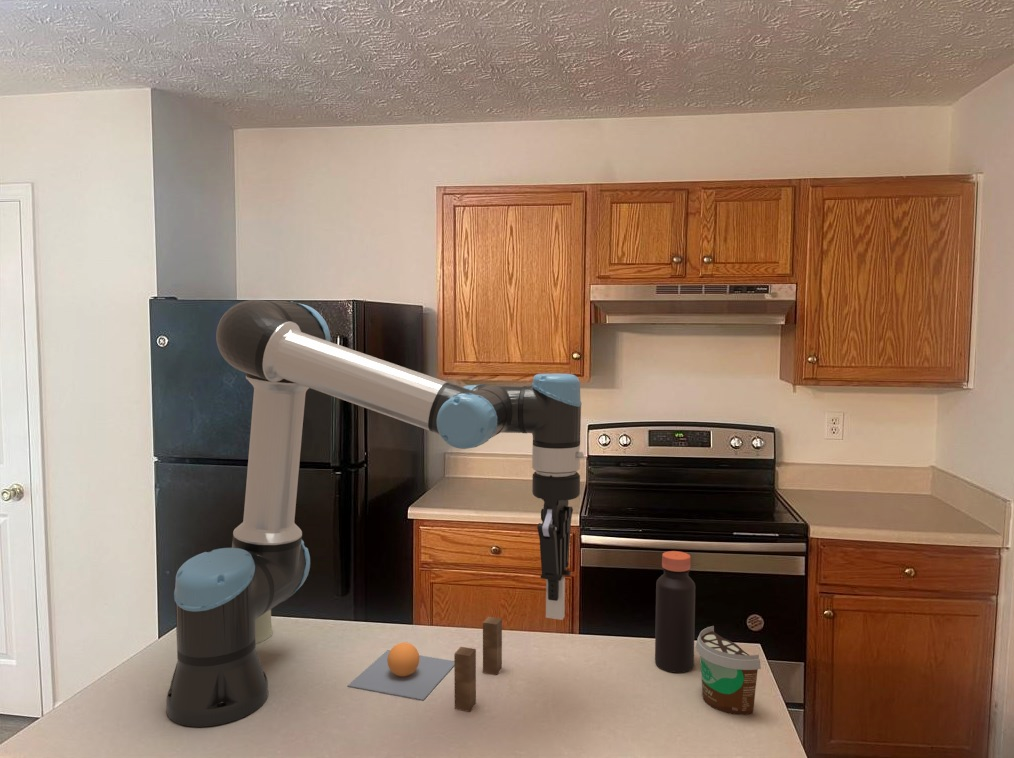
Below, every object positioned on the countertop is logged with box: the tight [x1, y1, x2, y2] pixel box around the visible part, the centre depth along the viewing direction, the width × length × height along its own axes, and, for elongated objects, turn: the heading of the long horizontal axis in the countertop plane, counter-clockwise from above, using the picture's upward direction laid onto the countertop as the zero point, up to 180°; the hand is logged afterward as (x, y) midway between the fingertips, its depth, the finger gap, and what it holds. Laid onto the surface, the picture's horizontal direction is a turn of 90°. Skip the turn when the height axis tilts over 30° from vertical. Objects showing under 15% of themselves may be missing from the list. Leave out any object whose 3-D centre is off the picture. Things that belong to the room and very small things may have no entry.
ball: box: [387, 642, 420, 677], centre depth 124 cm, size 6×6×6 cm
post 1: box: [453, 646, 477, 713], centre depth 114 cm, size 3×3×9 cm
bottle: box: [654, 550, 696, 674], centre depth 128 cm, size 7×7×20 cm
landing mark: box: [347, 649, 454, 702], centre depth 125 cm, size 14×14×1 cm
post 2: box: [482, 616, 503, 676], centre depth 126 cm, size 3×3×9 cm
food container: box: [695, 625, 762, 716], centre depth 115 cm, size 12×6×10 cm, turn 21°
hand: (555, 616), depth 115 cm, fingers closed
